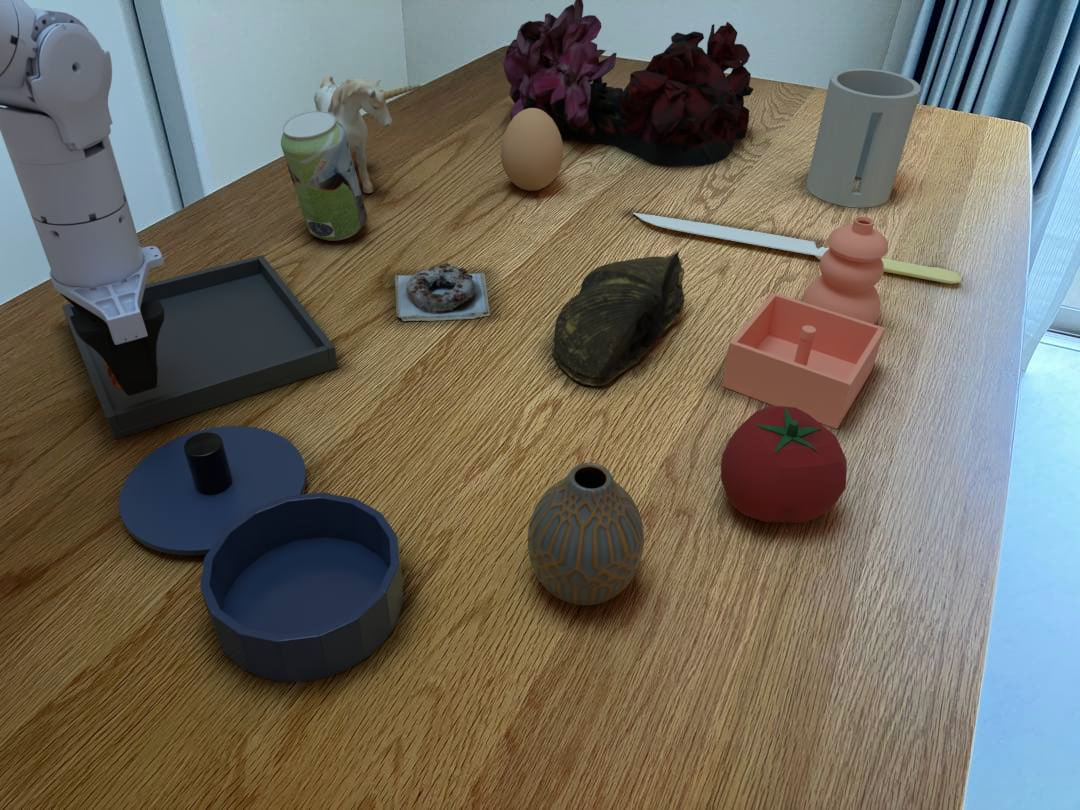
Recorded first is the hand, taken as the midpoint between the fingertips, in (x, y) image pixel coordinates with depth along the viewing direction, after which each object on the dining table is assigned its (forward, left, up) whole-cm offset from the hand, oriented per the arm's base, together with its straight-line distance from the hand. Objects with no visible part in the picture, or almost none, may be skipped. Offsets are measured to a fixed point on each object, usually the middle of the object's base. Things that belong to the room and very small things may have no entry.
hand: (134, 374), depth 66 cm
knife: (+61, -7, -3) cm, 61 cm away
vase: (+19, -31, -3) cm, 37 cm away
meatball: (0, 0, -1) cm, 1 cm away
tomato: (+34, -32, -3) cm, 47 cm away
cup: (+77, 0, -3) cm, 77 cm away
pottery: (+50, -21, -3) cm, 54 cm away
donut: (+27, +3, -3) cm, 27 cm away
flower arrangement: (+64, +26, -3) cm, 69 cm away
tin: (+4, -24, -3) cm, 25 cm away
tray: (+6, +6, -3) cm, 9 cm away
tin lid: (+2, -12, -2) cm, 13 cm away
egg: (+46, +18, -3) cm, 49 cm away
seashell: (+37, -10, -3) cm, 38 cm away
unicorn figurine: (+32, +28, -3) cm, 42 cm away
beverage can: (+23, +19, -3) cm, 30 cm away
